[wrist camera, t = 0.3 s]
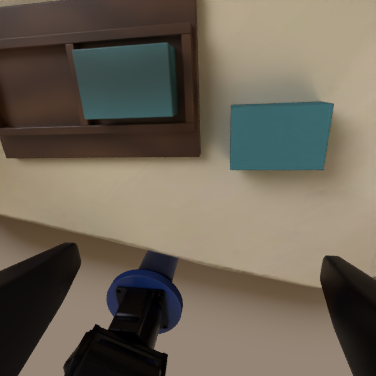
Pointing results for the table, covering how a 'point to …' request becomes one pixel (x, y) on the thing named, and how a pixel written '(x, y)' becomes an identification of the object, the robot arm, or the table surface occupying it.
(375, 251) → the table surface
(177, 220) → the table surface
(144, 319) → the robot arm
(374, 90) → the table surface
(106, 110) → the brown two-compartment tray
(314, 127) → the pad
